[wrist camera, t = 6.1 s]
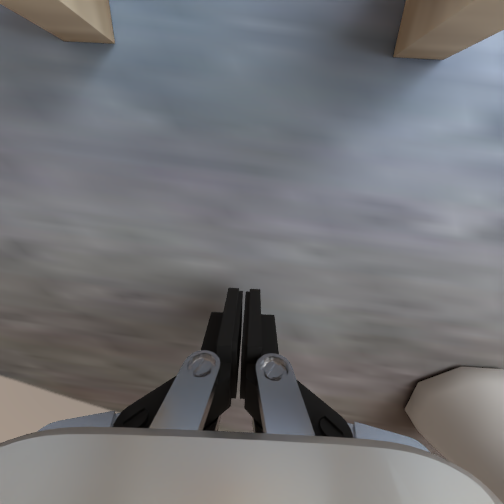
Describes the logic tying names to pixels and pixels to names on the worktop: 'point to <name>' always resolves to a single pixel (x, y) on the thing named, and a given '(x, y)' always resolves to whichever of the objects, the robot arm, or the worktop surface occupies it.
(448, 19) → the bridge
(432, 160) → the worktop surface
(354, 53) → the worktop surface
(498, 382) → the flask
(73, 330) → the worktop surface
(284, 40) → the worktop surface
